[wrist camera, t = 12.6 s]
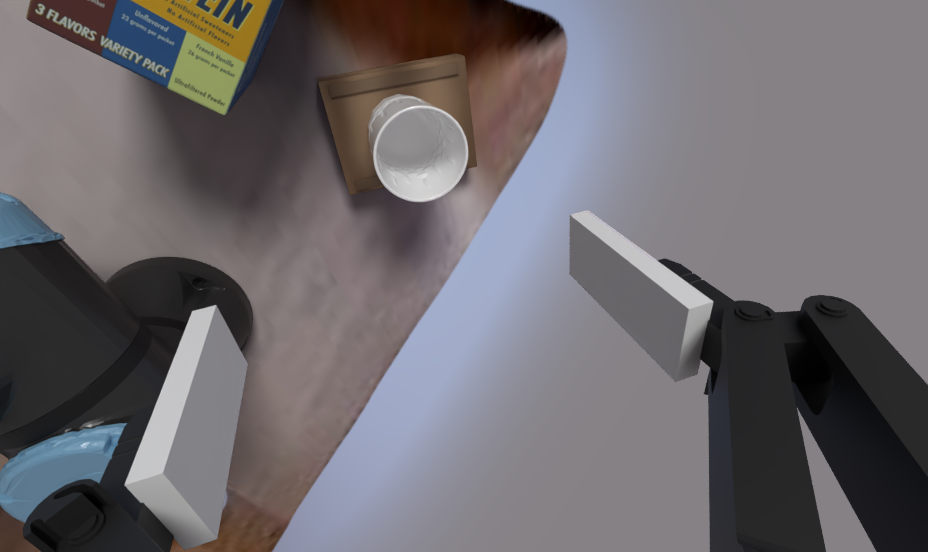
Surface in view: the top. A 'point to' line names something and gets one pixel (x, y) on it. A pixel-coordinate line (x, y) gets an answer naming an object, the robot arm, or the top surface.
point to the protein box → (171, 40)
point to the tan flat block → (365, 89)
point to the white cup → (416, 148)
